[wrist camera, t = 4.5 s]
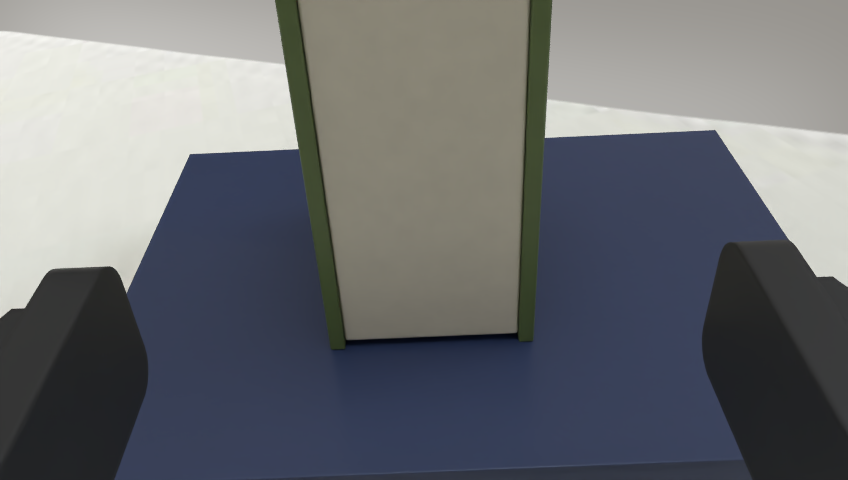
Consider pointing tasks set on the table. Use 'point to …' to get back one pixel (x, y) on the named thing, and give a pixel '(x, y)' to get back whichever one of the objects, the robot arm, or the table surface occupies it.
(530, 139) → the dictionary
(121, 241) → the table surface
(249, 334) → the block
